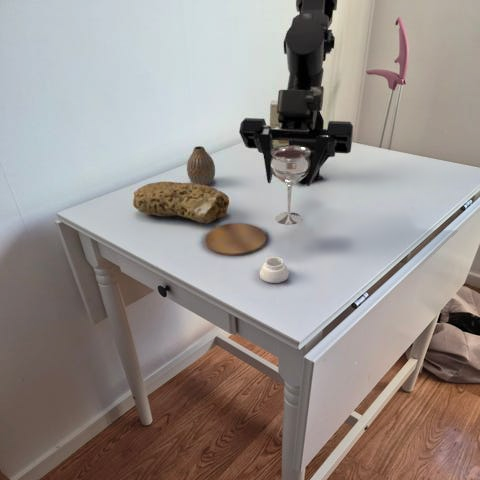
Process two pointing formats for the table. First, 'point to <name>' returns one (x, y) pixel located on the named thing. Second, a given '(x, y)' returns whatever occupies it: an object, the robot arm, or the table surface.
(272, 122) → the cosmetic box
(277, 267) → the lidless jar
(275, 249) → the table surface
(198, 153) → the vase
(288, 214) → the wineglass
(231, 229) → the coaster
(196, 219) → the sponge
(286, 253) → the table surface
